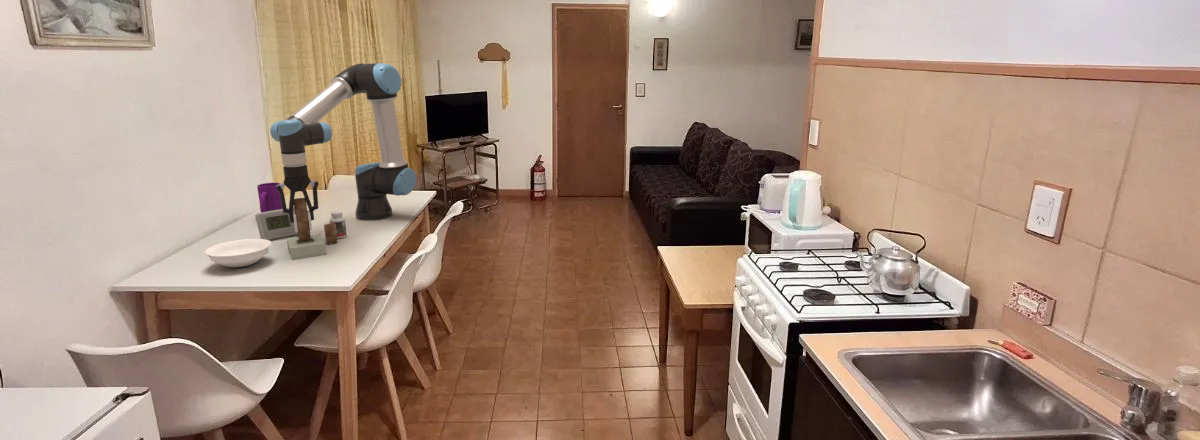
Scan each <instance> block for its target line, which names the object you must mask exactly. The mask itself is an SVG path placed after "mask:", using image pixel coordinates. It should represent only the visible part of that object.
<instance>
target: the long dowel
mask: <svg viewBox="0 0 1200 440" xmlns="http://www.w3.org/2000/svg"><path fill="white" fill-rule="evenodd" d="M294 209H295V214H296V221H297V228H298V235H297V237H298V239H299V242H306V241H310V240H311V236H310V235H311V230H310V228H309V221H308V213H307V211H308V206H307V203H306V199H305V197H298V198H294Z"/></svg>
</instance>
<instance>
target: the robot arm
mask: <svg viewBox="0 0 1200 440" xmlns="http://www.w3.org/2000/svg"><path fill="white" fill-rule="evenodd" d="M401 86H402V77H401V74H400V72H399V70H398V69H396V68H395V67H394V66H393V65H391V64H388V63H382V62H381V63H379V62H378V63H377V62H375V63H357V64H353V65H351V66H349V67H347V68H345V69H344V70H342V71H340V72H339V73H337V75H335V76H334V77H333V78H332V79H331V80H330V84H328V86H326V87H325V88H323V90H321V91H319V93H318V94H316V95H315V96H314V97H312V98H311V99H310V100H309V101H307V102H306V103H305V104H304V105H303V106H301V107H300V108H299V109H298V110H297V111H296V112H294V113H293V114H291V116H289V117H288V118H287V119H282V120H279V121H276V122H274V123H273V124H272V125H271V127H270V136H271V138H272V139H273V140H274V141H276V142H278V143H279V146H280V153H281V155H280V156H281V159H282V160H281V162H282V165H283V167H282V169H283V176H284V180H283V182H282V183H281V184H280V185H276V187H277V189H278V190H279V193H280V198H281V204H282V209H283V212H284V213H288V214H289V217H290V222H291V223H294V228H295V232H298V228H297V221H296V214H295V212H294V213H293V208H294V199H295V195H296V193H297V192H302V194H303V198H305V199H306V205H307V209H308V210H307V213H308V221H309V228H310V231H313V227H312V225H313V224H312V221H314V220H315V216H314V215H315V214H314V211H315V210H318V209H319V199H318V198H319V197H318V196H319V195H318V186H319V182H318V181H317V180H313V179H311V178H310V177H309V173H308V172H309V170H308V165H307V157H306V156H307V155H306V147H307V146H312V145H323V144H325V143H328V142H330V141H331V140H332V137H333V129H332V128H331V126H330V125H329V124H328V123H327V122H326V121H325V122H324V121H321V119H323V118H325V116H327V114H329V113H330V112H332V110H334V109H335V108H336V107H337V106H338V105H340V104H341V103H342V102H343V101H344V100H346V99H347V100H348V99H351V98H352V97H353V96H355V95H358V94H365V95H366V100H367V101H369V102H370V103H371V106H372V112H373V117H374V123H375V129H376V134H377V140H378V146H379V152H380V158H381V161H375V162H370V163H363V164H359V165H356V167H355V169H354V171H355V175H354V176H355V184H356V191H357V192H356V193H357V199H358V200H357V203H356V208H355V218H356V219H357V220H361V221H375V220H382V219H383V220H384V219H387V218H389V217H392V216H393V214H394V213H393V208H392V206H391V205H390V201H389V200H388V196H387V195H391V196H392V195H393V196H396V197H397V196H407V195H409V194H411V192H412V191H413V190H414V189H415V188H414V187H415V186H416V183H417V174H416V171H414V170H413V169H412V168H410V167H409V163H408V160H407V159H405V158H404V156H403V155H404V154H403V149H402V142H401V135H400V131H399V124H398V123H399V122H398V117H397V112H396V104H395V101H396V99H397V98H398V93H399V91H400V90H401ZM309 185H310V187H312V198H313V205H312V203H311V200H310V197H309V194H308V192H307V191H308V190H307V188H308V187H309ZM285 187H286V188H287V189H288V190H289V201H288V202H289V203H288V207H287V202H286V197H285V193H284V190H285ZM287 208H289V209H287Z"/></svg>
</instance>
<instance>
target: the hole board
mask: <svg viewBox="0 0 1200 440" xmlns="http://www.w3.org/2000/svg"><path fill="white" fill-rule="evenodd" d="M310 236H311V240H310V241H306V242H299V239H298V236H294V237H287V238H286V243H287V249H288V252H289V255H290V258H291V260H298V259H303V258H310V257H315V256H316V257H317V256H323V255H327V251H326V243H325V241H324V239H323V238H322V236H321V234H320V233H316V234H310Z"/></svg>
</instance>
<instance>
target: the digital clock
mask: <svg viewBox="0 0 1200 440" xmlns="http://www.w3.org/2000/svg"><path fill="white" fill-rule="evenodd" d="M286 208H287V209H289V207H286ZM294 212H295V209H294V208H293V213H294ZM254 216H255V222H256V225H257V230H258V232H259V238H260V239H265V240H269V241H277V240H281V239H287V238H294V237H297V236H298V232H295V228H294V223H291V222H290V217H289V214H288V213H284V212H283V209H279V210H272V211H266V212H262V213H261V212H257V213H256V214H254Z"/></svg>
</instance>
